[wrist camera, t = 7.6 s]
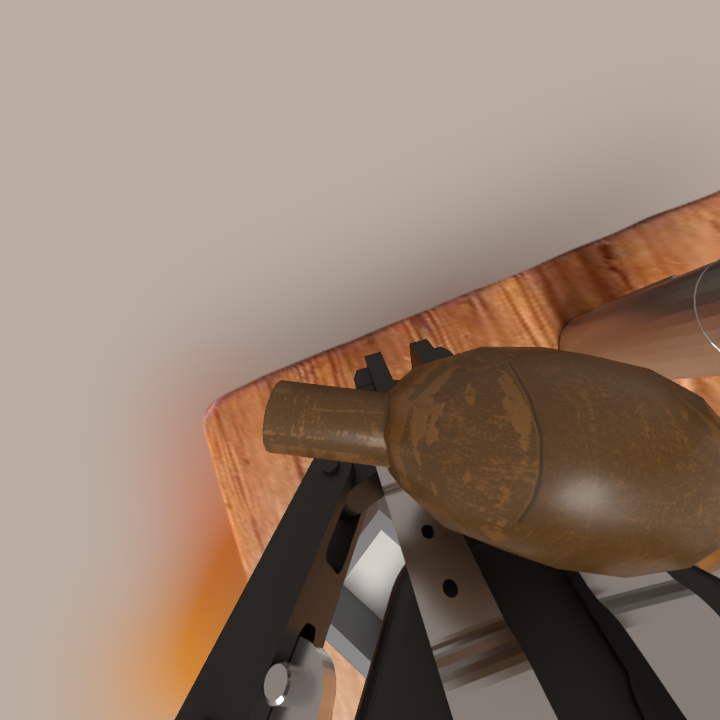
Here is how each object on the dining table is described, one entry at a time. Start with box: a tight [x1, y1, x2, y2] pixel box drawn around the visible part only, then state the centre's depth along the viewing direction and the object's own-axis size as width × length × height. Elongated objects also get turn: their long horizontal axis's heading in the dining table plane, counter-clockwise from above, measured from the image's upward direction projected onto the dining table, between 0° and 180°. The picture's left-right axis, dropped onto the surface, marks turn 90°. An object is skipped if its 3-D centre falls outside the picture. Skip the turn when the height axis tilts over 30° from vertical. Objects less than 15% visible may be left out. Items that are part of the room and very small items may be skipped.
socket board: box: [325, 496, 406, 678], centre depth 27 cm, size 18×12×8 cm, turn 141°
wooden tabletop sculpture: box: [263, 347, 720, 578], centre depth 12 cm, size 6×5×20 cm
